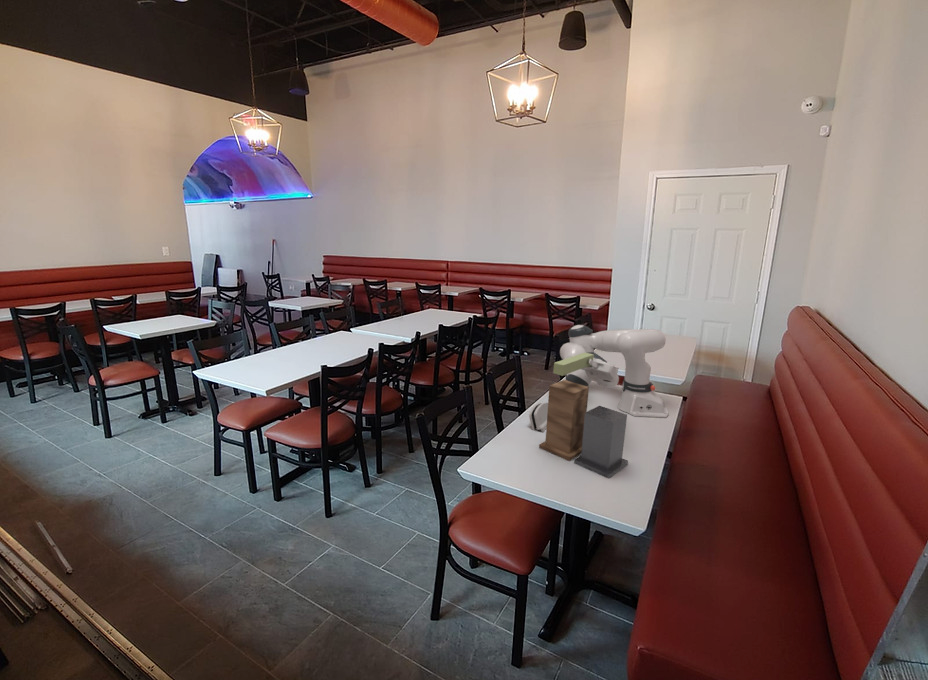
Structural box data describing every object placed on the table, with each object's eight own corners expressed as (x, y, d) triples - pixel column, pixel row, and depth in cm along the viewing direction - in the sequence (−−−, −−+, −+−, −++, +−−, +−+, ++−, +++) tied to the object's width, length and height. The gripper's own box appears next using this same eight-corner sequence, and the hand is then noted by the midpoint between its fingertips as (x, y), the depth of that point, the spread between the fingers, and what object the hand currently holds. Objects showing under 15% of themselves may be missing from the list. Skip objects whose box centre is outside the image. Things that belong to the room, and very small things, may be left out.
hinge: (542, 432, 189) (536, 410, 189) (532, 433, 192) (526, 411, 191) (557, 419, 203) (551, 398, 202) (547, 420, 206) (542, 399, 205)
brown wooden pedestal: (559, 436, 186) (563, 377, 179) (589, 448, 176) (595, 386, 170) (539, 447, 176) (542, 385, 170) (569, 461, 166) (574, 395, 160)
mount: (593, 450, 175) (598, 403, 170) (627, 464, 165) (633, 414, 160) (574, 463, 165) (578, 413, 160) (608, 478, 155) (614, 425, 150)
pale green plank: (584, 362, 178) (584, 352, 177) (592, 364, 175) (593, 354, 174) (553, 373, 164) (554, 362, 163) (562, 375, 161) (563, 365, 160)
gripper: (577, 357, 190) (562, 346, 181) (622, 368, 176) (609, 357, 166) (572, 371, 190) (557, 361, 180) (617, 383, 175) (603, 373, 166)
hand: (582, 359), depth 173 cm, fingers closed on pale green plank, 4 cm apart
